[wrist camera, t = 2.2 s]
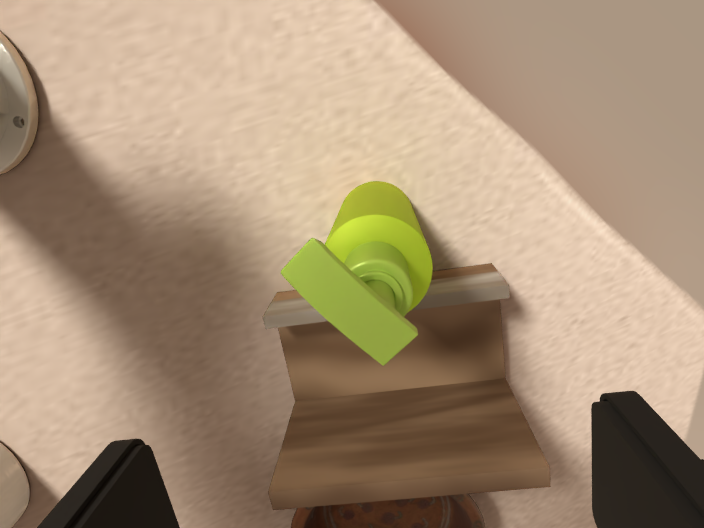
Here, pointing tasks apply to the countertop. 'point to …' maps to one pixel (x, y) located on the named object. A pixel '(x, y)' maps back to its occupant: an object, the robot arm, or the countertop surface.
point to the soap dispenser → (367, 270)
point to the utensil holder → (12, 489)
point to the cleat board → (404, 403)
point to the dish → (394, 514)
